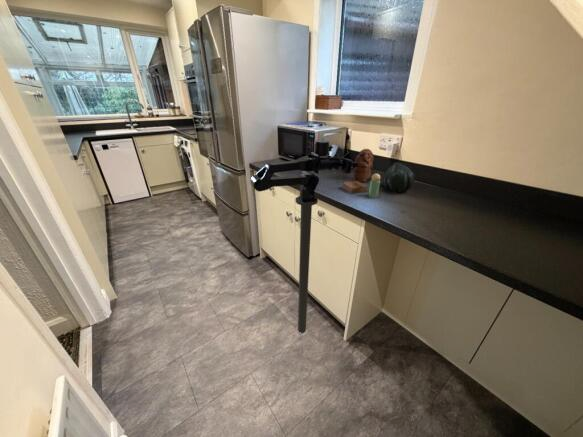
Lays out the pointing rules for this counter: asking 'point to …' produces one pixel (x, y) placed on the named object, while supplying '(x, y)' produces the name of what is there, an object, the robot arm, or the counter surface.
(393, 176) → the squash
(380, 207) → the counter surface
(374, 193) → the peg doll
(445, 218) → the counter surface
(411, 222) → the counter surface
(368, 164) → the wooden figurine
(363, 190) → the walnut block
